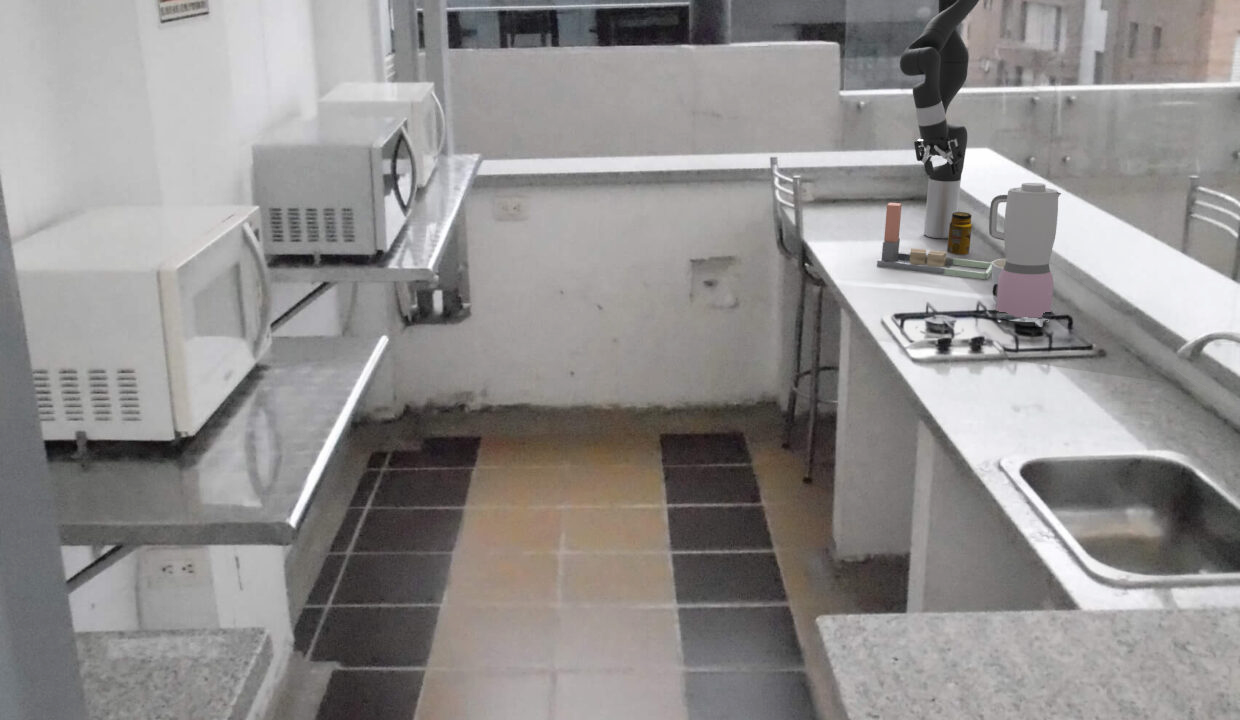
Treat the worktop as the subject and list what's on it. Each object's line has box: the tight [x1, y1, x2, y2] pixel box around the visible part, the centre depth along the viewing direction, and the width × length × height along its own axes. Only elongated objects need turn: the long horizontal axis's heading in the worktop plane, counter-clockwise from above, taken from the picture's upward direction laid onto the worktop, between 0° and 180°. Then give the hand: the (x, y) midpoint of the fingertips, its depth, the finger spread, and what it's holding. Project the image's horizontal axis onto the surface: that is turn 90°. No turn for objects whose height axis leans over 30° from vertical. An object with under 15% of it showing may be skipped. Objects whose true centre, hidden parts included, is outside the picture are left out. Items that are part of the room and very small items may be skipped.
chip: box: [927, 250, 947, 267], centre depth 318 cm, size 4×4×4 cm
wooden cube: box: [909, 248, 927, 265], centre depth 321 cm, size 4×4×4 cm
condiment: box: [946, 211, 973, 255], centre depth 333 cm, size 7×8×12 cm
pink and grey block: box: [881, 202, 903, 261], centre depth 322 cm, size 6×3×16 cm, turn 154°
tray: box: [943, 257, 993, 280], centre depth 315 cm, size 12×11×2 cm
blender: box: [988, 182, 1062, 322], centre depth 273 cm, size 16×12×32 cm
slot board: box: [876, 251, 955, 275], centre depth 321 cm, size 12×18×2 cm, turn 64°
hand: (942, 175), depth 332 cm, fingers open, 8 cm apart
